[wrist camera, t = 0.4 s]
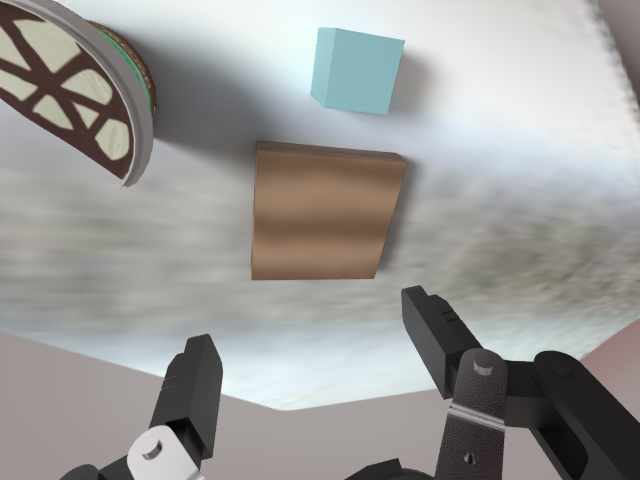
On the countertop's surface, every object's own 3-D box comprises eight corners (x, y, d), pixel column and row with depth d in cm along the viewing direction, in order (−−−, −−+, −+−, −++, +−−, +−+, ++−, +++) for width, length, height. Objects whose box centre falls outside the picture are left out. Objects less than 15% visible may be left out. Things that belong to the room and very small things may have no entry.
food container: (206, 96, 28) (191, 125, 19) (160, 147, 29) (128, 194, 21) (48, -55, 21) (-73, -107, 13) (-1, 20, 23) (-138, 16, 14)
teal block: (318, 27, 27) (336, 28, 22) (375, 38, 28) (404, 40, 23) (310, 94, 29) (324, 107, 24) (363, 100, 30) (387, 115, 26)
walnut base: (256, 140, 30) (257, 150, 28) (395, 153, 34) (407, 162, 31) (250, 263, 38) (251, 280, 35) (366, 263, 41) (374, 278, 39)
